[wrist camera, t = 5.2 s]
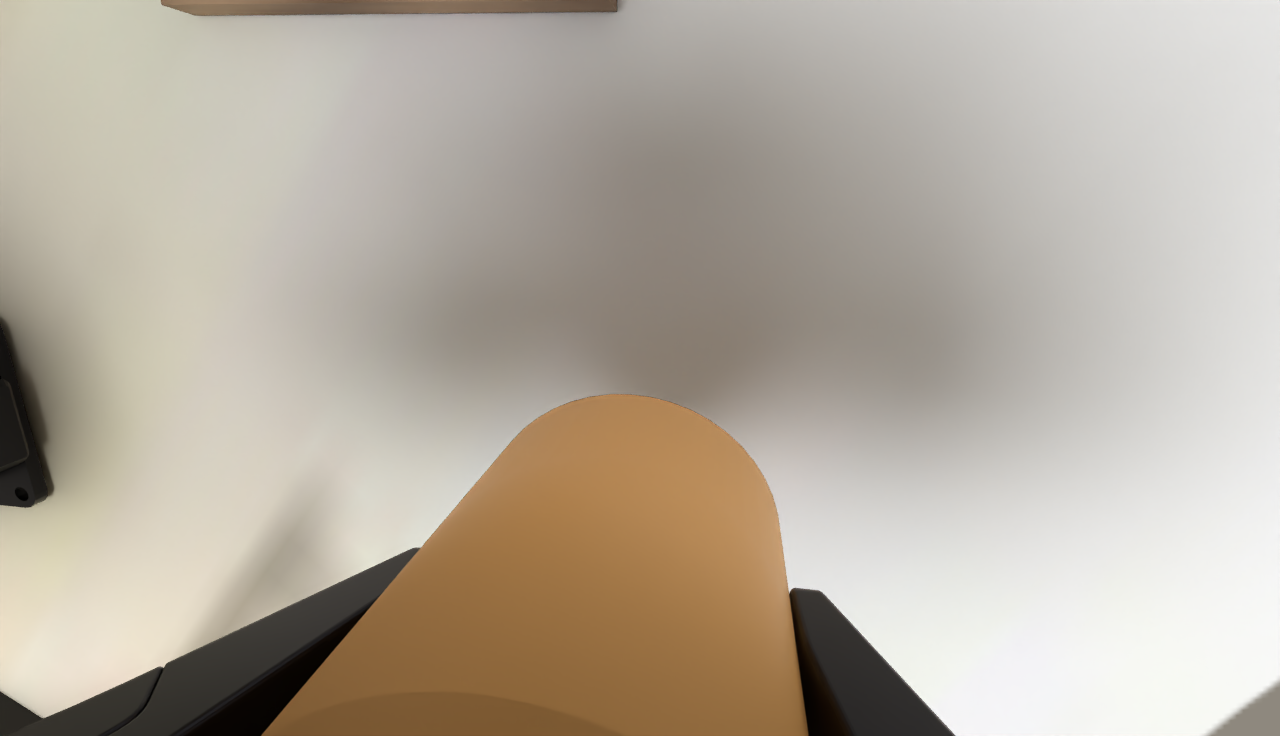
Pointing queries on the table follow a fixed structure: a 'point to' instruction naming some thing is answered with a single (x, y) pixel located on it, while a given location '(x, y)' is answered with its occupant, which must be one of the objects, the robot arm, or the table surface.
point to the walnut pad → (384, 6)
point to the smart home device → (14, 715)
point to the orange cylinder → (582, 596)
